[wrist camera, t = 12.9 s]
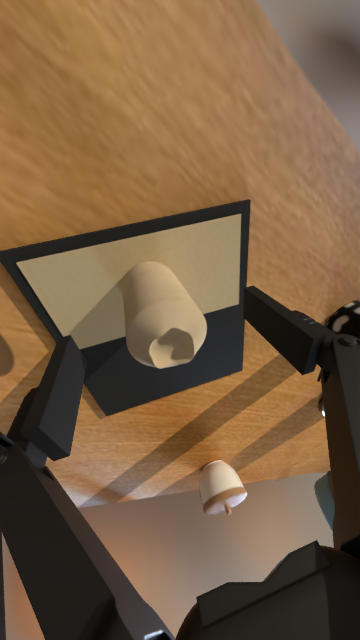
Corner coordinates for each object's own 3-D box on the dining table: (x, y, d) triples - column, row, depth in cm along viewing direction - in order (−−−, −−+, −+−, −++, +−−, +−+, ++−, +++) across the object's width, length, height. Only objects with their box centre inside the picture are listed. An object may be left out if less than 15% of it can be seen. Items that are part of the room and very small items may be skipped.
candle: (187, 282, 21) (231, 339, 13) (154, 319, 22) (176, 392, 14) (145, 248, 18) (169, 294, 10) (111, 293, 19) (107, 365, 11)
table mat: (248, 199, 19) (251, 199, 18) (241, 368, 32) (242, 370, 32) (-3, 251, 16) (-6, 253, 15) (106, 413, 29) (106, 416, 29)
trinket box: (185, 472, 49) (198, 523, 41) (222, 450, 48) (242, 499, 40) (204, 479, 55) (218, 525, 47) (237, 460, 54) (256, 504, 46)
